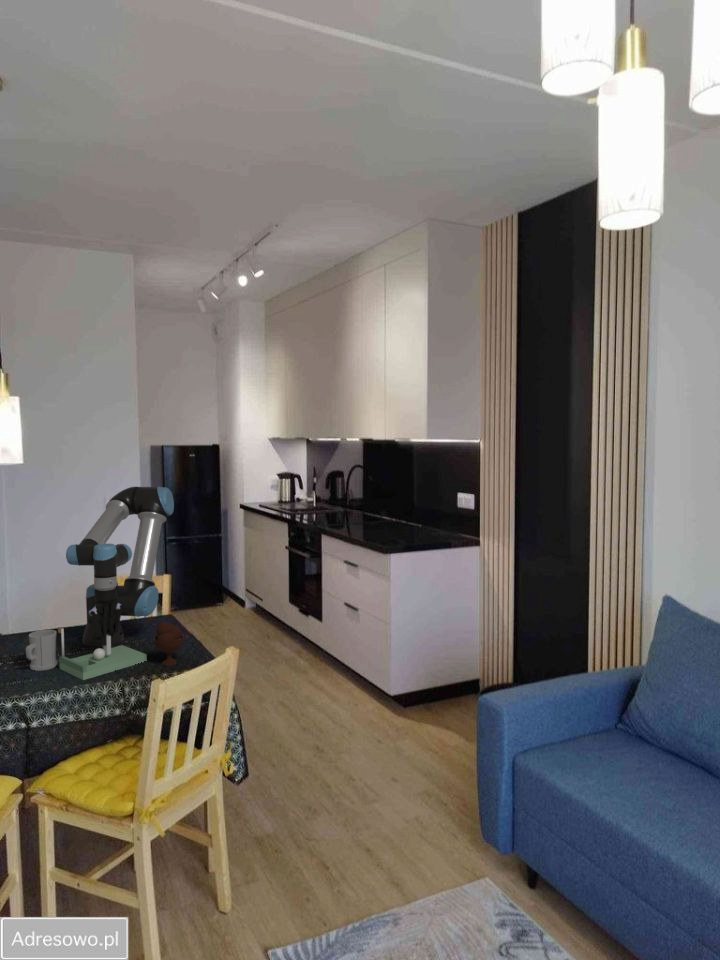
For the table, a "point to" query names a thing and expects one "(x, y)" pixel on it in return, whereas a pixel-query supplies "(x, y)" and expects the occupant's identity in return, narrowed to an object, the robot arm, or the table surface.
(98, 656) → the ball
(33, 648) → the cup
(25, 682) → the table surface
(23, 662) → the table surface
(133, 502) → the robot arm
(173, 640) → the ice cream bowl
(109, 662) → the putting mat
